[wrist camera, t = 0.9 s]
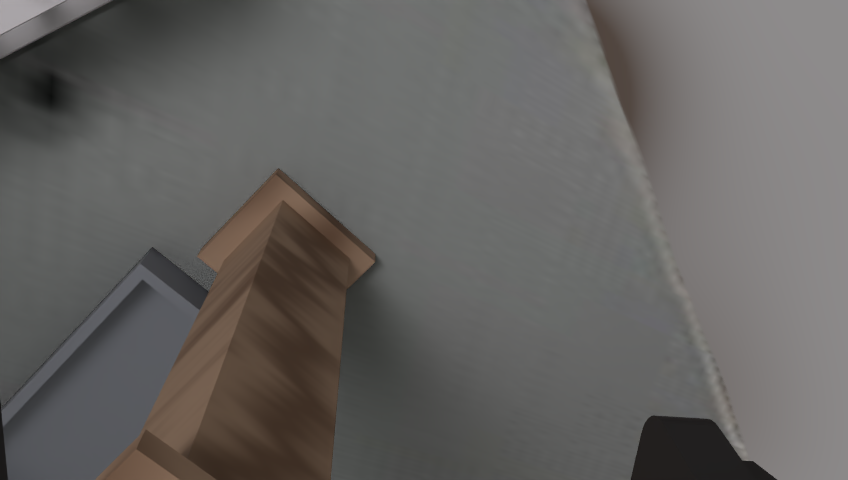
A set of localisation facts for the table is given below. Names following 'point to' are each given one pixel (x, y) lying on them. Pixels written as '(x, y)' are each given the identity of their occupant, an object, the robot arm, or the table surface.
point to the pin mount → (257, 351)
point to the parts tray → (102, 377)
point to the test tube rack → (37, 19)
